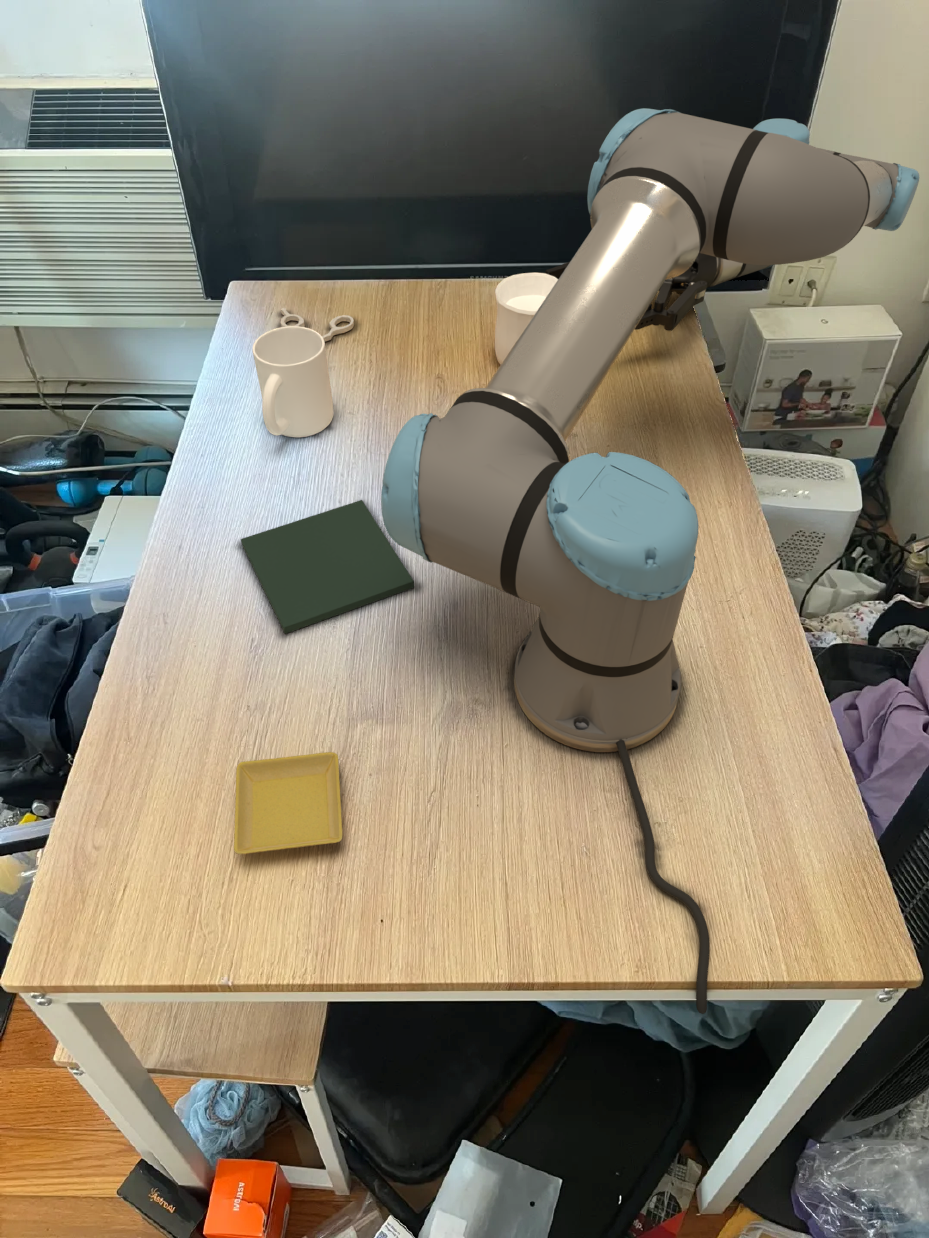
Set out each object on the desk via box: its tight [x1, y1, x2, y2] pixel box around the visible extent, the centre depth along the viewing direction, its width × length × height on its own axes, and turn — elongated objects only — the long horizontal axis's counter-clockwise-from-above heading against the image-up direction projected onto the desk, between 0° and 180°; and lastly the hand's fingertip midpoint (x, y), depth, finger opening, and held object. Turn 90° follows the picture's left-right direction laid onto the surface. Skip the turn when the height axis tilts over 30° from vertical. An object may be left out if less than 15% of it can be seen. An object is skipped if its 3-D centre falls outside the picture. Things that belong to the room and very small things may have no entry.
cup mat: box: [240, 499, 415, 634], centre depth 95 cm, size 14×14×1 cm
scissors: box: [280, 307, 355, 342], centre depth 122 cm, size 11×1×20 cm
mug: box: [252, 325, 335, 438], centre depth 108 cm, size 12×8×10 cm
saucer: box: [233, 751, 344, 855], centre depth 76 cm, size 9×9×2 cm
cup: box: [494, 272, 558, 366], centre depth 117 cm, size 10×10×10 cm
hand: (575, 303), depth 119 cm, fingers open, 13 cm apart
